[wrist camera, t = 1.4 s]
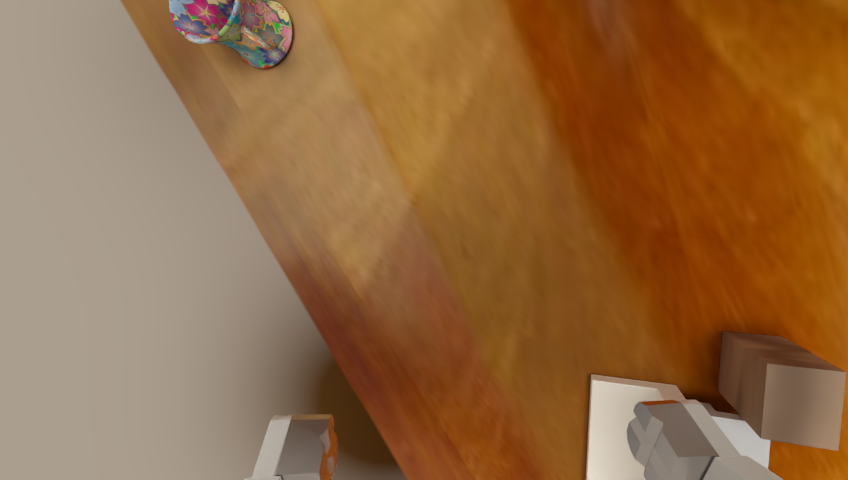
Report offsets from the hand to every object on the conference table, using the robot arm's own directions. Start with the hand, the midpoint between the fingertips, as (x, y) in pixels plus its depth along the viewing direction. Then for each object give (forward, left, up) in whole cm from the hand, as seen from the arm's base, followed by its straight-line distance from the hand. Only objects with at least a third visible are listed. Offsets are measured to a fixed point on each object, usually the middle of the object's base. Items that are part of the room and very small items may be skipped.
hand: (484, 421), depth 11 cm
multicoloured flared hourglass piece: (+15, -40, -36) cm, 56 cm away
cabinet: (-13, +18, -36) cm, 42 cm away
